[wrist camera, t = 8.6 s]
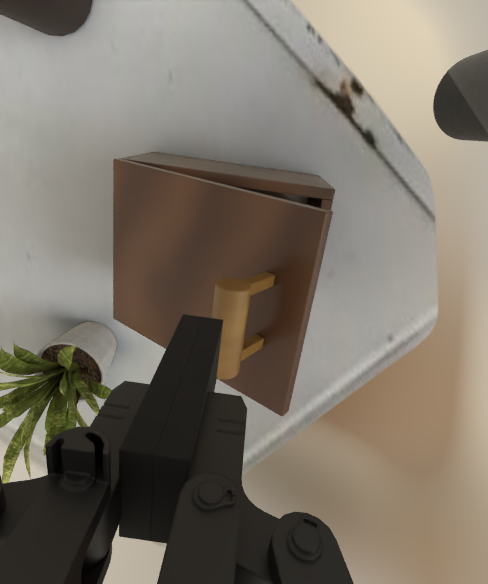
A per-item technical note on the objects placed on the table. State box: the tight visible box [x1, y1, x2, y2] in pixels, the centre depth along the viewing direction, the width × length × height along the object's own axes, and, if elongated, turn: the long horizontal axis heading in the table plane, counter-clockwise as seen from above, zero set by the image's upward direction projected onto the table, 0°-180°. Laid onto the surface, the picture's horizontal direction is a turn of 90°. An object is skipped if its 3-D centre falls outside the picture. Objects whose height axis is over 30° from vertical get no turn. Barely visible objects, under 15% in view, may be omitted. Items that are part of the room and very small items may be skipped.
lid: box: [113, 159, 332, 416], centre depth 24 cm, size 16×13×5 cm
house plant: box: [0, 321, 117, 483], centre depth 37 cm, size 14×14×16 cm
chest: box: [122, 152, 335, 211], centre depth 34 cm, size 16×13×9 cm
